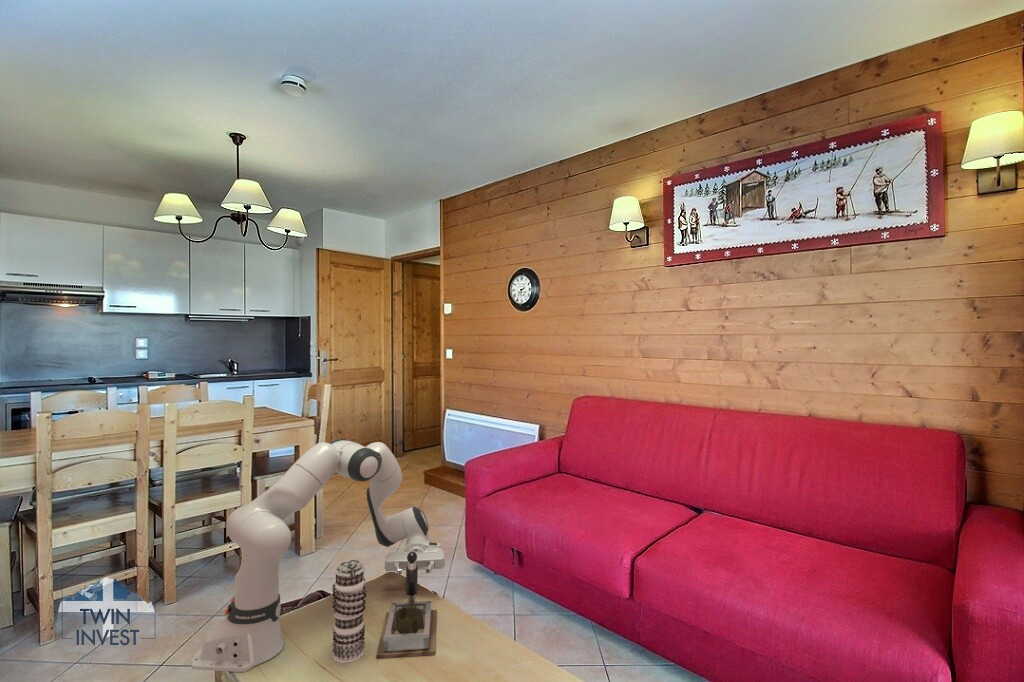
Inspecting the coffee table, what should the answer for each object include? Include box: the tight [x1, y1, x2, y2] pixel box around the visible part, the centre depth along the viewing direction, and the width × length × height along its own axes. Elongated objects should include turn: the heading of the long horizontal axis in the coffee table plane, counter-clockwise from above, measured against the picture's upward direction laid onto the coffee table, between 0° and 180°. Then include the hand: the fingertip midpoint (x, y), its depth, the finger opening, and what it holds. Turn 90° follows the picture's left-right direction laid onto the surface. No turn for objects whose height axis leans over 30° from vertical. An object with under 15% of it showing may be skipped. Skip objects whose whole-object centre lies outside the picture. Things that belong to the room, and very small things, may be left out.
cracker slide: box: [383, 552, 432, 652], centre depth 147 cm, size 12×21×19 cm, turn 7°
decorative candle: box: [331, 559, 367, 664], centre depth 137 cm, size 9×9×25 cm
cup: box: [396, 605, 421, 634], centre depth 144 cm, size 8×7×8 cm
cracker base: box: [375, 606, 438, 660], centre depth 146 cm, size 16×22×6 cm
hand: (413, 571), depth 161 cm, fingers open, 8 cm apart
